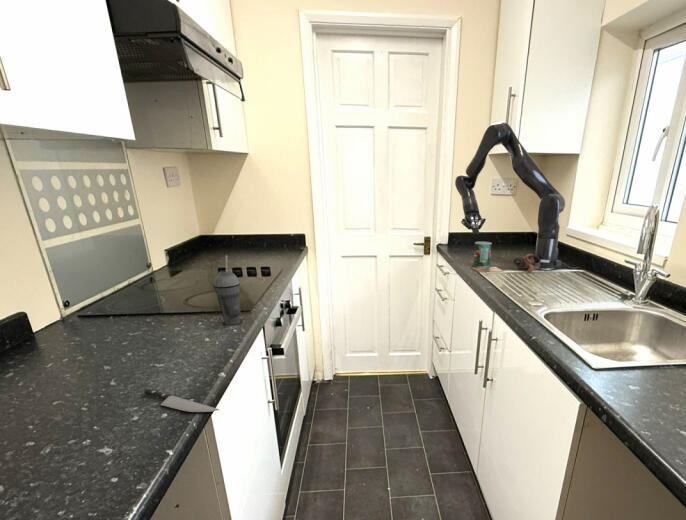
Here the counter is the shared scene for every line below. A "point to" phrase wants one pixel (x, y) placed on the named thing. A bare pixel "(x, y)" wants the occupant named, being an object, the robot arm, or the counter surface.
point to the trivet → (487, 269)
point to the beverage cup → (228, 295)
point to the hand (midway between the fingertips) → (476, 235)
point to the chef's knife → (180, 402)
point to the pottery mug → (527, 262)
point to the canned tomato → (482, 254)
